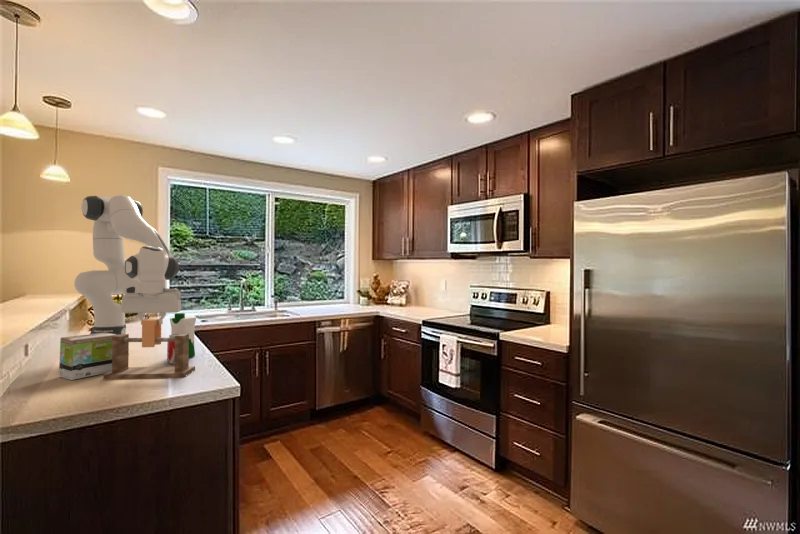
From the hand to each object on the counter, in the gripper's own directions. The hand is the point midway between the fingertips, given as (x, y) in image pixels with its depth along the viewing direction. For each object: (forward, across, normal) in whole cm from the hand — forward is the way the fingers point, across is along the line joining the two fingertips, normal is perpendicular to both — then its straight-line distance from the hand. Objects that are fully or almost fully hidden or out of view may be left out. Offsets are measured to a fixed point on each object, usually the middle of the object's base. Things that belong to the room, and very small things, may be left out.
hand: (151, 324), depth 148 cm
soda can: (+19, -2, -17) cm, 26 cm away
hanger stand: (+19, 0, 0) cm, 19 cm away
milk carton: (+19, 0, -28) cm, 34 cm away
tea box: (+19, +23, -2) cm, 30 cm away
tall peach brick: (+8, 0, 0) cm, 8 cm away
